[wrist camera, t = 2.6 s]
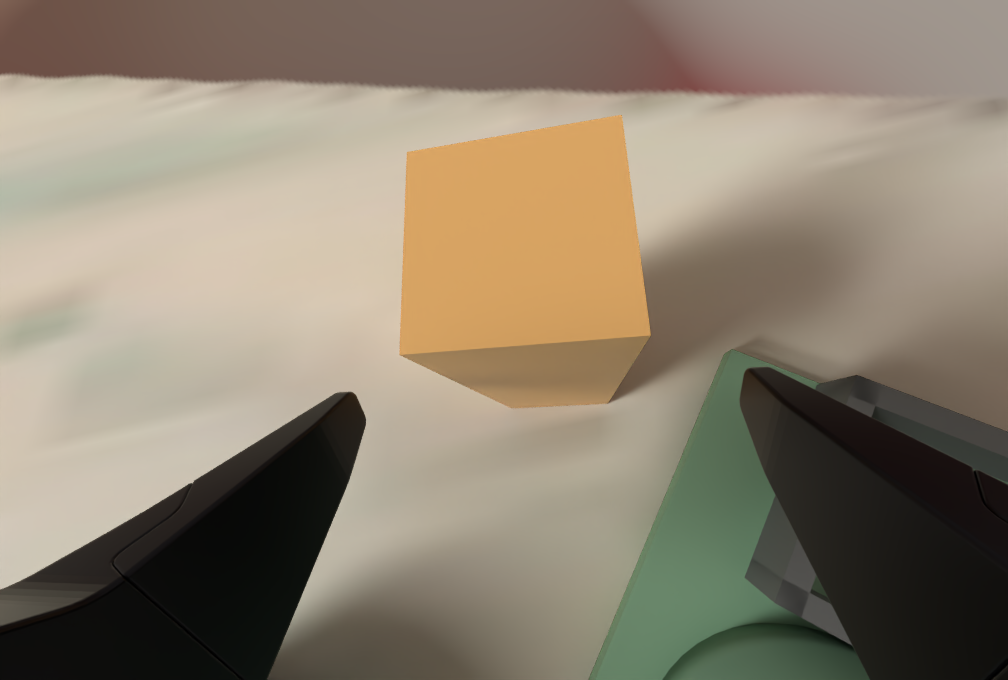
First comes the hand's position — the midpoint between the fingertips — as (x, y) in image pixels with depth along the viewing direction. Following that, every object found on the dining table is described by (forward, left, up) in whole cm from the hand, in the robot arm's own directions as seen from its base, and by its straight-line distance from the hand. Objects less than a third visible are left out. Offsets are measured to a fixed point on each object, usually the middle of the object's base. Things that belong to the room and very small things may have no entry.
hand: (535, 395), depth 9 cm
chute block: (+2, +2, -10) cm, 11 cm away
